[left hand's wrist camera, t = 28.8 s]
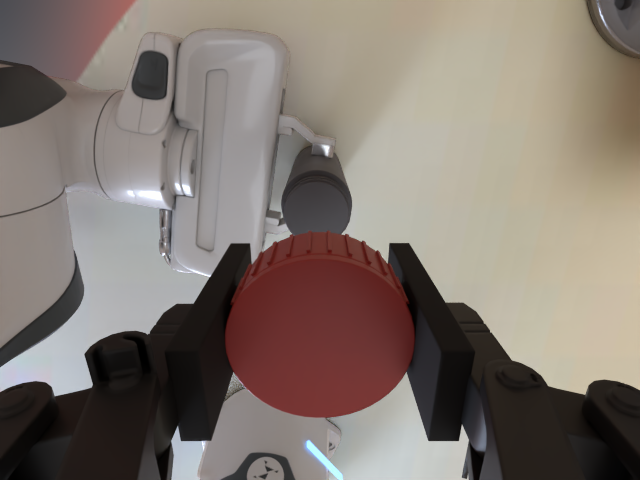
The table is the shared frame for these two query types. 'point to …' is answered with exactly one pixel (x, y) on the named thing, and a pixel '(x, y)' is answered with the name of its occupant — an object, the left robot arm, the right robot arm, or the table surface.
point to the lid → (319, 326)
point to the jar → (316, 195)
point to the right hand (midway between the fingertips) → (327, 183)
